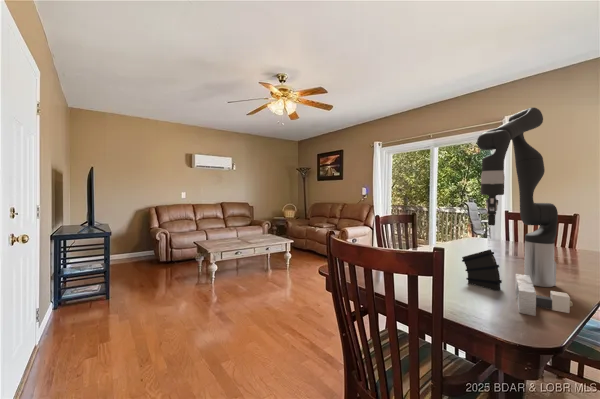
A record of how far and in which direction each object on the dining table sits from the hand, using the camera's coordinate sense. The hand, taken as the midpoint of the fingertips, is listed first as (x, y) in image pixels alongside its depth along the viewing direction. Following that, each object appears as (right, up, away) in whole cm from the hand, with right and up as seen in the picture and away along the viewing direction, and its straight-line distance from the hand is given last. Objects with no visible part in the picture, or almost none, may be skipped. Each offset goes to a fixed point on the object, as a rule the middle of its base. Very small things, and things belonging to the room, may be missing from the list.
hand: (491, 224), depth 109 cm
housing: (+1, -26, -15) cm, 29 cm away
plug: (+5, -26, -18) cm, 32 cm away
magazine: (-2, -25, +3) cm, 26 cm away
